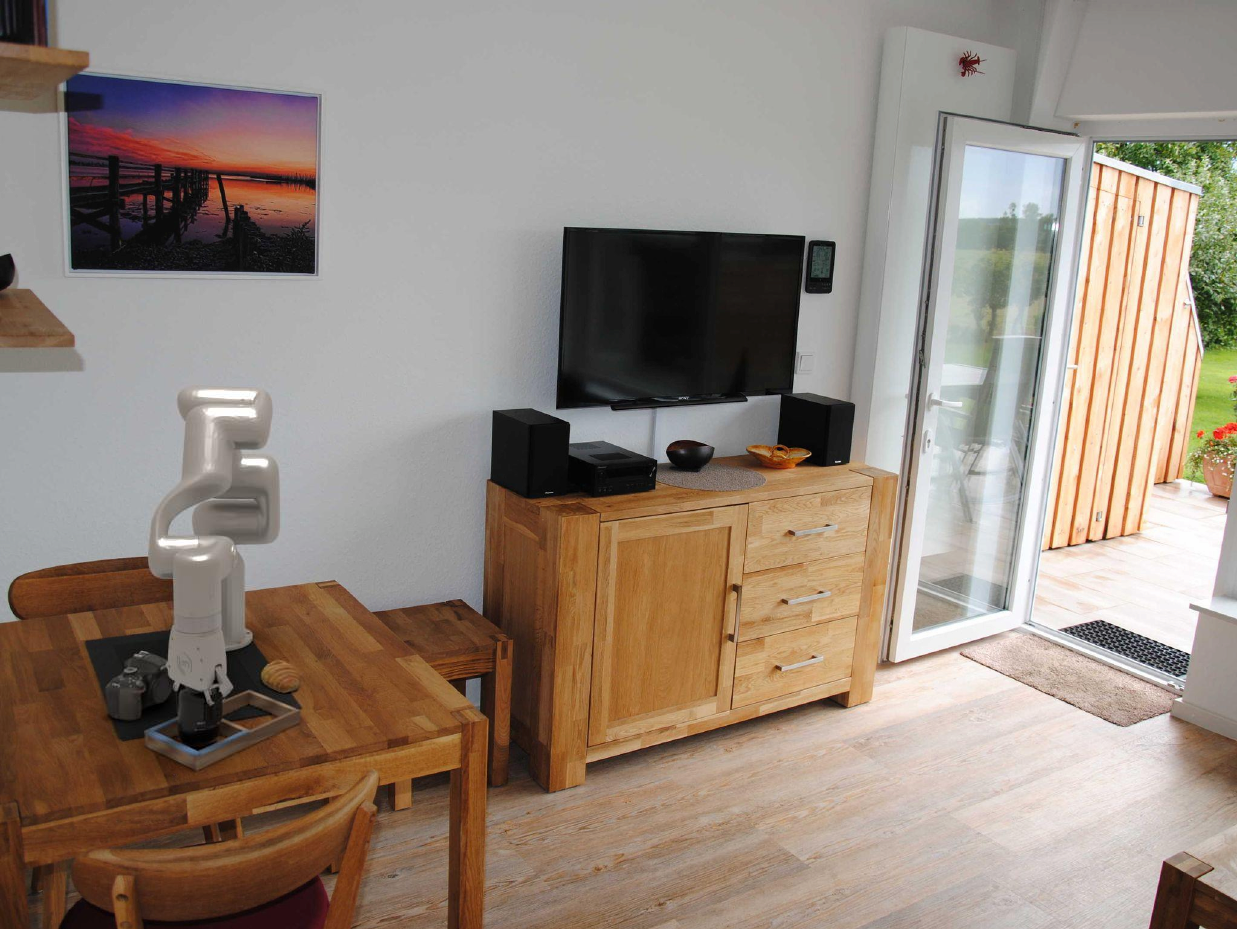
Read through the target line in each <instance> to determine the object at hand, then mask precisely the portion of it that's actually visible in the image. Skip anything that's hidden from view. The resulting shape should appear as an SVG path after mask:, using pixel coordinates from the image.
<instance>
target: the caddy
mask: <svg viewBox="0 0 1237 929" xmlns="http://www.w3.org/2000/svg"><path fill="white" fill-rule="evenodd" d="M247 704H250V705H249V706H251V705H254V706H256V707H259V708H261V709H263V710H262V711H264V710H267V711H269V712H271V713H272V714H271V713H270V714H271V715H274V716H275V718H274V719H272V720H269V721H267V722H265V723H262V724H261V725H258V726H256V727H254V728H251V729H248V728H245V727H243V726H241V725H238V724H236V723H234V722H233V721H230V720H228V719H224V718H223V719H222V720H221V721H220V735H222V736H225V737H227V738H224V739H222V740H220V741H218V742H215V743H213V744H211V745H209V746H206V747H204V748H202V749H199V750H196V749H195V748H194V749H193V748H191V746H187V745H184V744H182V743H181V742H180V741H178V740H177V741H176V740H174V739H172V738H174V737H176V736H178V716H176V717H174V718H172V719H169V720H167V721H164V722H162V723H160V724H157V725H155V726H152V727H150V728H148V729H146V730H143V731H144V732H143V733H144V747H146V748H148V749H150V750H152V751H155V752H156V753H158V754H161V755H163V756H165V757H167V758H169V759H172V760H173V761H175V762H178V763H180V764H182V765H185V766H186V767H188V768H190V769H192V770H194V771H200V770H202V769H204V768H206V767H209V766H211V765H213V764H215V763H217V762H219V761H221V760H223V759H225V758H228V757H230V756H231V755H234V754H236V753H238V752H240V751H243V750H245V749H247V748H249V747H251V746H253V745H255V744H257V743H260V742H261V740H262V741H263V740H266V739H268V738H271V737H272V736H274V735H277V734H279V733H281V732H283V731H285V730H287V729H289V728H292V727H294V726H295V725H297V724H299V723H300V722H301V710H300V709H298V708H295V707H293V706H291V705H288V704H286V703H283V702H282V701H279V700H276V699H275V698H274V699H273V698H271V697H269V696H266V695H264V694H261V693H259V692H255V691H253V690H251V689H248V690H246V691H243V692H240V693H238V694H235V695H233V696H230V697H228V698H225V700H223V701H222V709H223V716H225V715H227V713H228V714H230V713H233V712H234V710H235V711H237V710H239V709H241V708H240V707H242V708H244V707H246V706H248V705H247ZM245 705H246V706H245ZM243 706H244V707H243ZM254 706H253V707H254ZM256 707H255V708H256ZM238 708H239V709H238ZM259 708H258V709H259ZM261 709H260V710H261Z"/></svg>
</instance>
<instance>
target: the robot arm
mask: <svg viewBox="0 0 1237 929" xmlns="http://www.w3.org/2000/svg"><path fill="white" fill-rule="evenodd" d="M272 401H273V400H272V396H271V395H270V394H269V392H268V391H267V390H265V389H263V388H257V387H238V386H237V387H236V386H234V387H233V386H217V385H216V386H214V385H192V386H191V385H190V386H187V387H184V388H181V389H180V391H179V392H178V394H177V398H176V403H177V408H178V412H179V415H180V416H181V418H182V420H183V421H184V423H185V424H184V425H185V426H184V437H183V438H184V439H183V453H182V467H181V479H180V482H179V483H178V484H176V485H175V486H174V487H173V489H171V490H170V491H169V492H168V493H167V494H166V495H165V496H164V497H163V499H162V500H161V501H160V503H158V506H157V507H156V508H155V512H154V513H153V515H152V519H151V522H150V529H149V530H150V532H149V541H148V542H149V543H148V551H147V552H148V553H147V554H148V555H147V558H148V559H147V560H148V568H149V571H150V573H151V574H152V575H153V576H155V577H156V578H159V579H164V580H169V579H170V580H172V582H173V583H172V584H173V585H172V586H173V589H172V590H173V625H172V626H171V629H170V634H169V640H168V654H167V660H168V662H166V667H167V669H168V675H169V677H170V678H171V679H172V681H173V687H172V689H173V690H174V692H175V712H176V713H177V714H178V695H179V692H180V691H181V690H182V689H183V688H184V685H185V686H188V687H190V688H193V689H195V690H198V691H201V692H204V694H205V697H206V700H207V704H205V725H206V726H210V725H213V724H215V723H217V722H220V721H221V720H222V719H224V718H223V716H224V715H223V709H222V701H223V700H226V698H227V696H228V695H229V694H230V693H231V691H233V689H234V686H233V684H232V683H231V681H230V679H229V678H228V676H227V672H228V671H227V654H226V652H231V651H235V650H239V649H242V648H245V647H246V646H248V645H250V644H251V642H252V641H253V632H252V631H251V630H250V629H248V628H246V568H245V566H246V565H245V561H244V559H243V557H242V555H241V554H240V551H238V548H237V546H238V545H241V546H242V545H245V546H247V545H252V546H253V545H257V546H258V545H269V544H271V543H274V542H276V540H277V539H278V537H279V534H280V530H281V529H280V528H281V502H280V501H281V499H280V498H281V496H280V495H281V489H280V488H281V485H280V484H281V483H280V471H279V470H280V469H279V466H278V463H277V461H276V460H275V458H273V457H272V456H271V455H268V454H265V453H264V454H262V453H243V452H242V451H243V450H245V451H250V450H251V451H257V450H258V451H259V450H262V449H263V448H265V446H266V445H267V442H268V441H269V438H270V431H271V426H272V425H271V424H272V419H273V412H274V411H273V409H274V408H273V402H272ZM210 499H211V500H210ZM194 506H195V507H194ZM191 507H194V509H193V512H192V516H191V522H192V523H191V524H192V531H193V534H192V535H191V534H190V535H187V534H186V535H168V534H169V529H170V525H171V524H172V522H173V521H174V520H175V518H176V517H177V516H178V515H180V514H181V513H183V512H184V511H186V510H188V509H189V508H191ZM213 682H214V684H212V683H213ZM213 688H215V690H216V693H215V694H214V695H213V696H212V692H211V689H213Z"/></svg>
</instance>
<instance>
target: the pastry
mask: <svg viewBox="0 0 1237 929" xmlns="http://www.w3.org/2000/svg"><path fill="white" fill-rule="evenodd" d="M260 675H261V680H262V681H261V682H262V683H263V684H264V685H265V686H266V685H267V686H268V687H267V686H266V687H267V688H269V687H270V688H272V689H274V690H276V691H278V692H277V693H281V692H282V694H284V693H285V694H286V693H288V692H293V691H296V690H298V688H299V686H300V685H301V684H300V673H299V671H297V669H296V667H295V666H294V664H292V663H287V662H286V660H279V659H278V660H273V661H272V662H270V663H268V664H266V665H265V667H264V668H263V669H262V671H261V674H260ZM270 688H269V689H270ZM272 689H271V690H272ZM274 690H273V691H274ZM276 691H275V692H276Z"/></svg>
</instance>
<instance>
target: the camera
mask: <svg viewBox="0 0 1237 929" xmlns="http://www.w3.org/2000/svg"><path fill="white" fill-rule="evenodd" d="M166 662H168V659H166V658H163V657H162V656H160V655H157V654H154V653H151V652H148V651H143V650H141V651H140V652H139V653H135V654H134V655H133V656H132V657H130V658H128V659H126V660H124V664H123V666H124V670H123V671H122V672H121V673H120V674H119V675H118V676H115V677H113V678H112V679H110V681H109V682H108V683H107V684H106V685H105V687H104V692H105V694H106V709H107V713H108V715H109V716H110V717H111V718H113V719H117V720H120V721H126V722H127V721H129V722H133V721H138V720H140V719H141V716H142V710H144V709H146V708H147V707H149V706H151V707H152V706H154V705H156V704H163V703H164V702H165V701H167V699H168V698H169V696H170V695H171V692H172V691H173V685H174V683H173V681H172V679H171V678H170V677H169V675H168V669H167V667H166Z"/></svg>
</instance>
